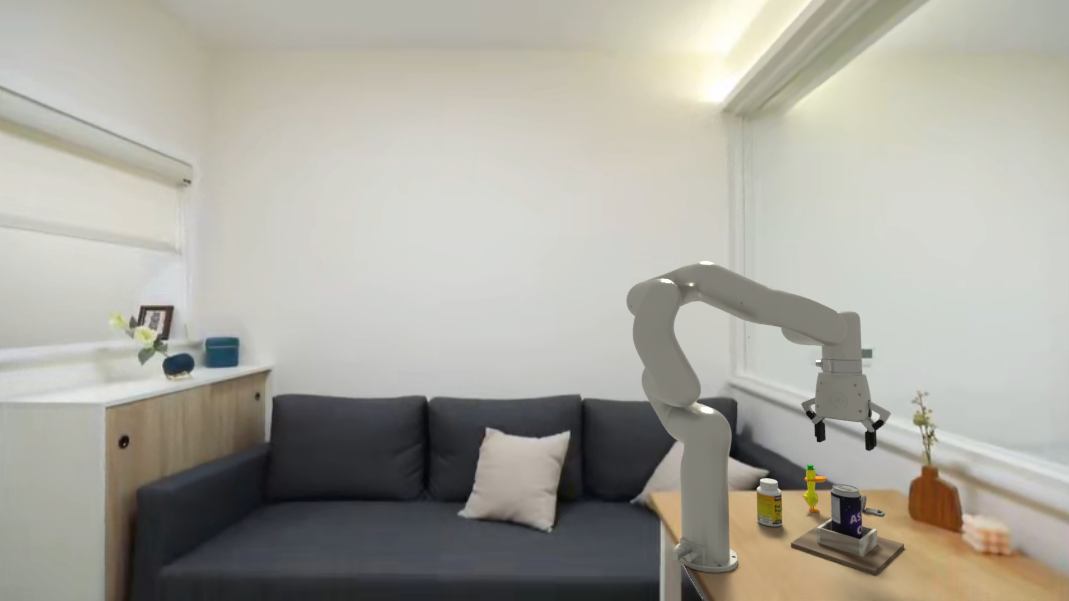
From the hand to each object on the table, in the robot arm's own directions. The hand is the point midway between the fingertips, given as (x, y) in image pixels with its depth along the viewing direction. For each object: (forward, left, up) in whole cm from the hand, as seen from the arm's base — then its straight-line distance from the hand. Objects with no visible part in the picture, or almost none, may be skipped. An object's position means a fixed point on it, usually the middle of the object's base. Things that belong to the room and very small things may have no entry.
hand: (844, 445), depth 110 cm
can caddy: (0, 0, -22) cm, 22 cm away
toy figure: (+16, +13, -22) cm, 30 cm away
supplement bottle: (0, +17, -22) cm, 28 cm away
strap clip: (+26, +5, -23) cm, 35 cm away
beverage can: (0, 0, -21) cm, 21 cm away
